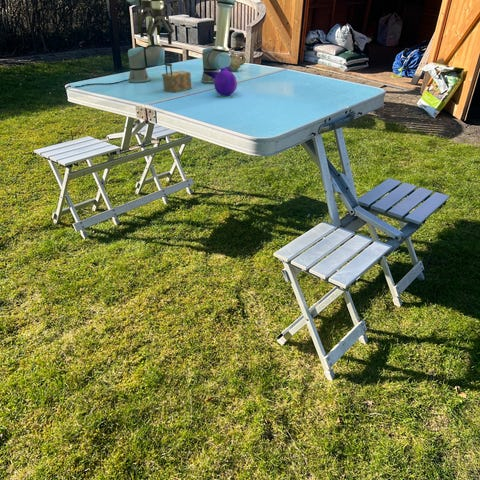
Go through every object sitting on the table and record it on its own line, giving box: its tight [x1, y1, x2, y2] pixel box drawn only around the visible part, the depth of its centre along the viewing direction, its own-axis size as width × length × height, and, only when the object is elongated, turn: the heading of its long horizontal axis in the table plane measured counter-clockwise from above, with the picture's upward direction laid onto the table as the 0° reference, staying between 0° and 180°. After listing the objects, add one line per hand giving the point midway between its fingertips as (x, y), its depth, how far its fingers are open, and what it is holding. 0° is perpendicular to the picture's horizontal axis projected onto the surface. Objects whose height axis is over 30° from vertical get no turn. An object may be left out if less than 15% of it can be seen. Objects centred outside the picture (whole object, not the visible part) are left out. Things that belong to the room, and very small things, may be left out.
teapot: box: [229, 51, 246, 72], centre depth 364 cm, size 21×12×15 cm, turn 120°
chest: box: [162, 73, 192, 93], centre depth 309 cm, size 16×10×10 cm, turn 136°
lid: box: [161, 62, 191, 78], centre depth 304 cm, size 17×10×8 cm, turn 136°
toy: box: [202, 67, 238, 97], centre depth 293 cm, size 16×18×27 cm
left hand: (150, 36), depth 298 cm, fingers open, 13 cm apart
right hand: (161, 45), depth 290 cm, fingers open, 13 cm apart
